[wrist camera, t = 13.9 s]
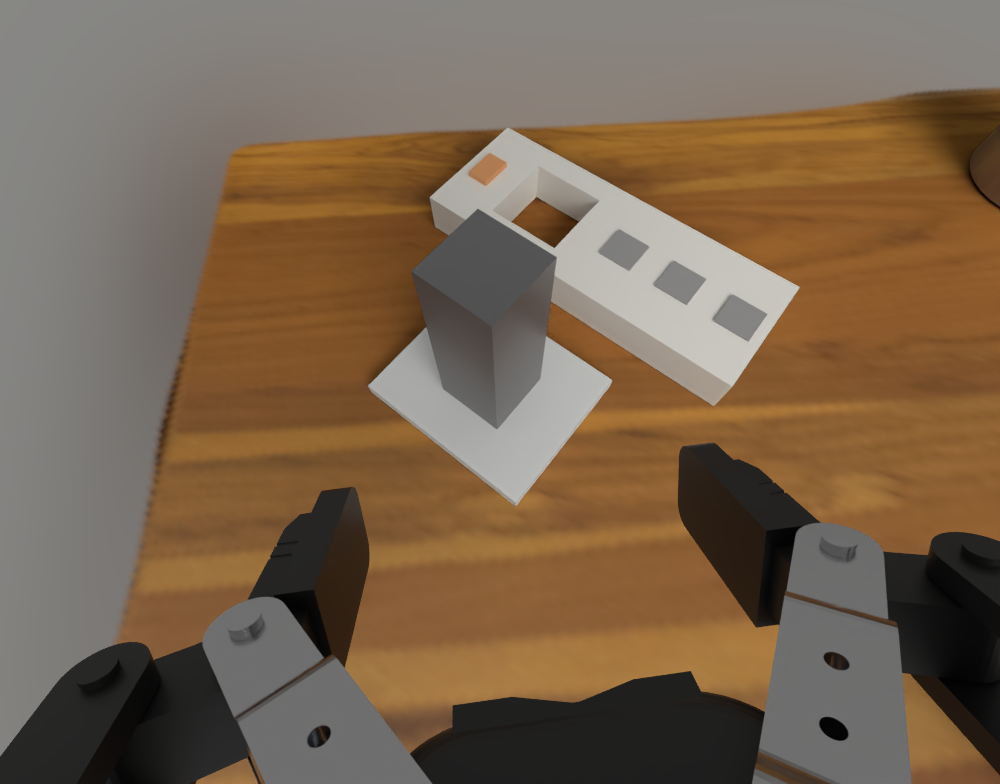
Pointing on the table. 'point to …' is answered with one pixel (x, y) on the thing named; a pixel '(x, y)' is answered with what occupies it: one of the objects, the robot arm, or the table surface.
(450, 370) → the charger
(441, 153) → the table surface
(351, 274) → the table surface
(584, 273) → the power strip
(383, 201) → the table surface
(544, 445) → the mat
